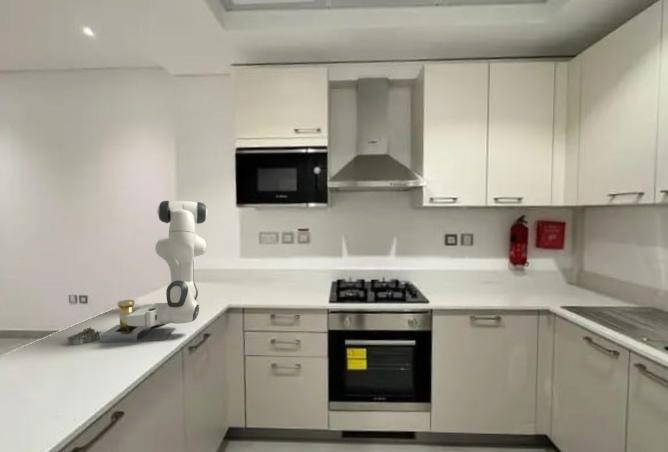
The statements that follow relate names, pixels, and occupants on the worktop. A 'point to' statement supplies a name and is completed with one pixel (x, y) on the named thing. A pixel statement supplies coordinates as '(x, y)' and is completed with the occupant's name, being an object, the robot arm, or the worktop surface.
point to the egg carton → (83, 336)
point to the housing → (124, 334)
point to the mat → (158, 334)
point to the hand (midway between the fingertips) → (124, 314)
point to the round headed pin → (127, 309)
